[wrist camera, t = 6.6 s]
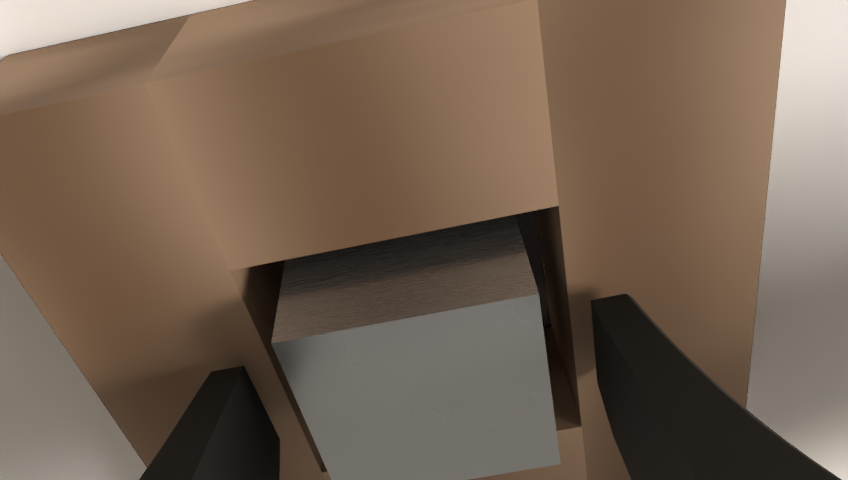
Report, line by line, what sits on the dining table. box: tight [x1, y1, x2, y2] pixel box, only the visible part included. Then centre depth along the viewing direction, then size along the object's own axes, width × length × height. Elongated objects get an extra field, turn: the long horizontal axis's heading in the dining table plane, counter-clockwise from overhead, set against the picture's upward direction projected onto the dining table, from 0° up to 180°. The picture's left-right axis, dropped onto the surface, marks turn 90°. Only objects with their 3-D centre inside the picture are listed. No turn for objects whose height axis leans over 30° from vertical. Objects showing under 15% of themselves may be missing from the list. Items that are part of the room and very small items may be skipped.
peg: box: [271, 215, 561, 480], centre depth 13 cm, size 4×4×5 cm
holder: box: [0, 0, 786, 480], centre depth 14 cm, size 12×12×3 cm
